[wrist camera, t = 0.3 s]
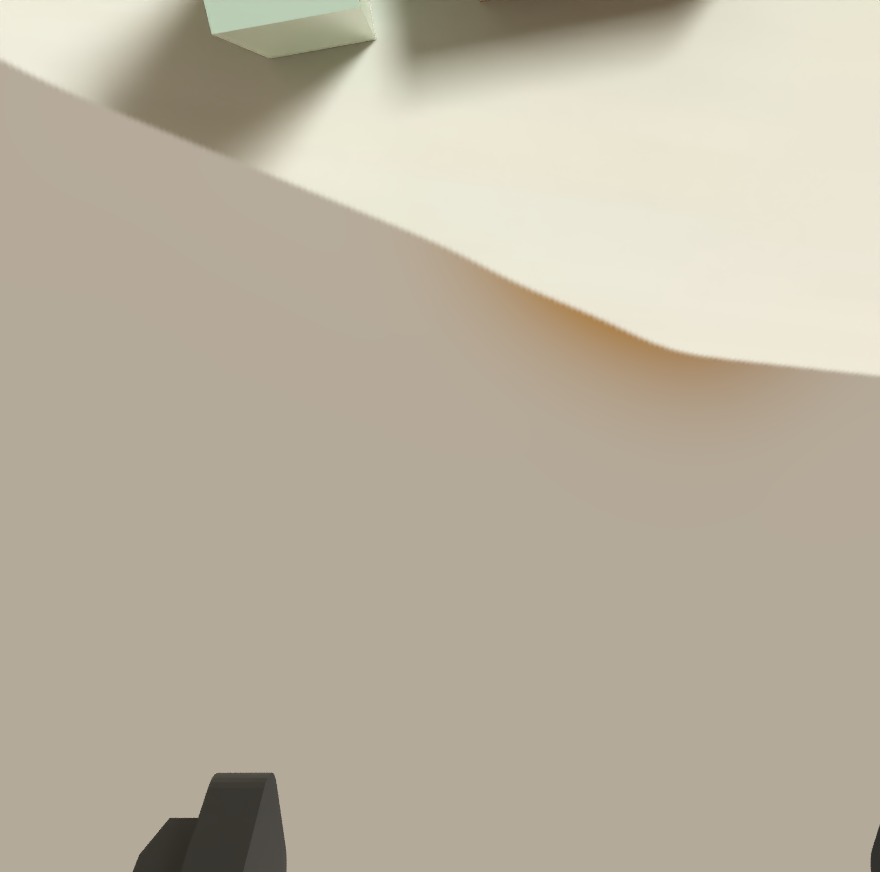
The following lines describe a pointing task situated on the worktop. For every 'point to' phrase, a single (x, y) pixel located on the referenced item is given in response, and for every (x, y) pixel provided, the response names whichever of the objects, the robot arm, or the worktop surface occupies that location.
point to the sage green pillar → (290, 24)
